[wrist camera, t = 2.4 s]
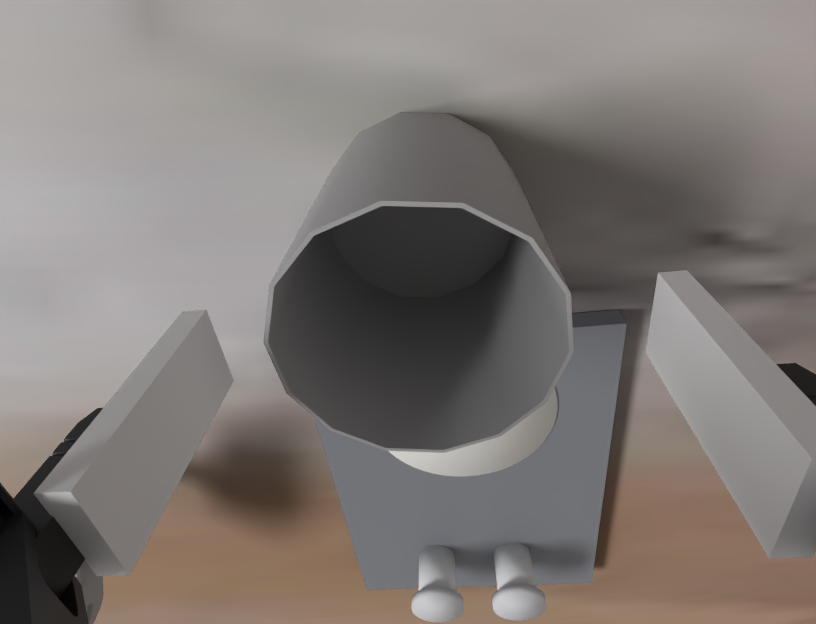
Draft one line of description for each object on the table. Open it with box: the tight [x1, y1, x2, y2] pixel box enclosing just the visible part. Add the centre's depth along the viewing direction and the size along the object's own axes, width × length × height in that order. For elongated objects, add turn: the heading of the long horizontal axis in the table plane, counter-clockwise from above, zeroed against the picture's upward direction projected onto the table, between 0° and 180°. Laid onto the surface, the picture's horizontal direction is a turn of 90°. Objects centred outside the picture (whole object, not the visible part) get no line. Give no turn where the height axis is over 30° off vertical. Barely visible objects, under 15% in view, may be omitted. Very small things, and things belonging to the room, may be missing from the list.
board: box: [315, 310, 627, 622], centre depth 29 cm, size 22×16×5 cm
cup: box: [264, 112, 574, 453], centre depth 18 cm, size 8×8×10 cm
